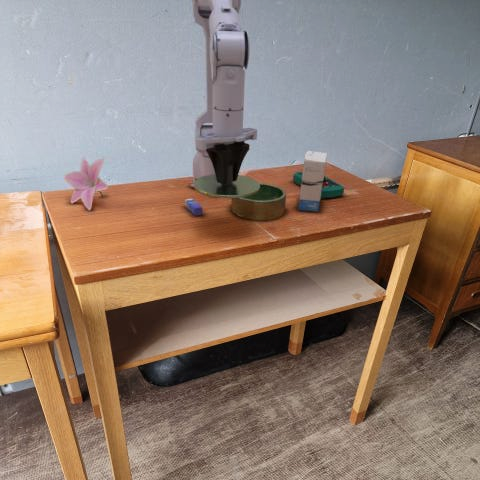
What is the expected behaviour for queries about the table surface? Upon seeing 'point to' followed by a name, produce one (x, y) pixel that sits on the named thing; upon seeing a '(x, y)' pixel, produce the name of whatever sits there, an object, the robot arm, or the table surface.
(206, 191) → the pan lid
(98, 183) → the lily
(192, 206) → the eraser
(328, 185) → the digital multimeter
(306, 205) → the ink box
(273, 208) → the pan
